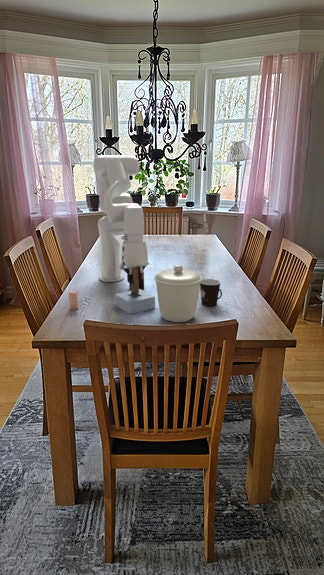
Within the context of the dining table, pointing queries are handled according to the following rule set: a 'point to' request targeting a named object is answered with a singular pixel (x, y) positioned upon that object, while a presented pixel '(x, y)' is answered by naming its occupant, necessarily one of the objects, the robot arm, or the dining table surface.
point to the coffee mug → (210, 292)
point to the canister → (177, 293)
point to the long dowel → (135, 281)
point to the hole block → (134, 301)
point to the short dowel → (73, 300)
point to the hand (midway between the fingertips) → (134, 281)
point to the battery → (140, 283)
